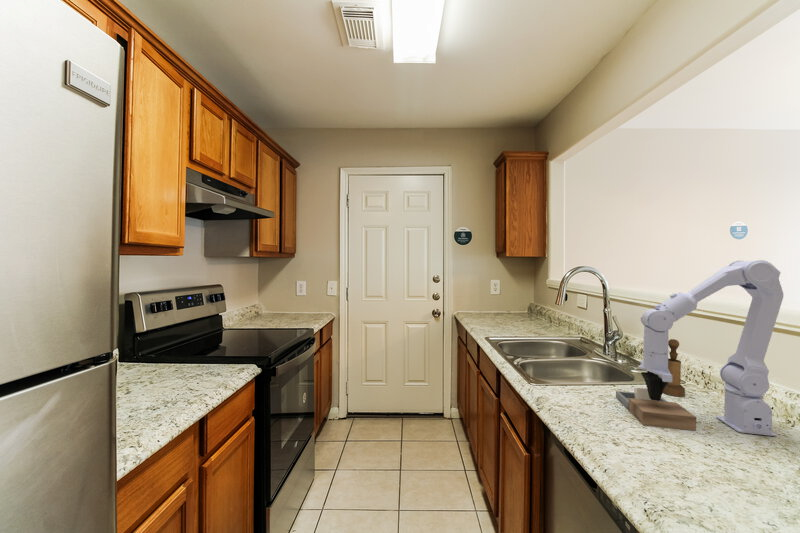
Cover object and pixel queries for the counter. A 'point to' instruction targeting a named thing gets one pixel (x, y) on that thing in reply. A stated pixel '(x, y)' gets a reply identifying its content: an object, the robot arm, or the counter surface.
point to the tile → (641, 394)
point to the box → (625, 397)
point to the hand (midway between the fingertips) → (654, 399)
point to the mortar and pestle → (674, 372)
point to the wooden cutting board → (662, 414)
